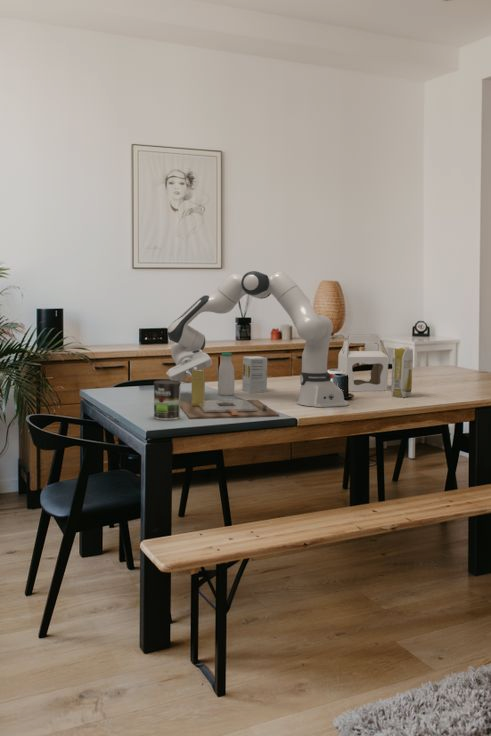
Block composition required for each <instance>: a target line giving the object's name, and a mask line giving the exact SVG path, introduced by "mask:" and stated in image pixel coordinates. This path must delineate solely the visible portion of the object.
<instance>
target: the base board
mask: <svg viewBox="0 0 491 736" xmlns="http://www.w3.org/2000/svg"><path fill="white" fill-rule="evenodd" d="M246 400H247V401H248V402H250V403H251V404H252V405H254V406H255V407H256V408H258V411H240V412H238V415H231V414H230V413H229V412H203V411H202V410H201V409H200V407H199V406H192V400H190V401H187V400H186V401H185V400H184V401H183V400H182V401H181V400H180V410H182V412H183V411H184V412H183V413H184V414H185V416H186V417H187V418H188V420H197V419H198V420H200V419H202V420H204V419H207V420H208V419H235V418H236V419H237V418H239V419H240V418H242V419H243V418H270V417H271V418H272V417H280V413H278V412H276V411H275V410H273V409H272V408H271V407H269V406H267V405H268V404H265V403H263V402H261V400H258V399H246ZM222 406H233V405H230V403H228V402H224V403H222Z"/></svg>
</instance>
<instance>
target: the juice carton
mask: <svg viewBox="0 0 491 736" xmlns="http://www.w3.org/2000/svg"><path fill="white" fill-rule="evenodd" d="M392 351H393V352H392V359H391V361H392V363H391V364H392V365H391V366H392V367H391V385H390V386H391V387H390V390H391V391H390V392H391V393H390V394H391V397H393V396H395V397H394V398H401V397H404V398H408V397H410V396H412V395H411V394H412V388H413V387H412V384H413V363H414V352H413V351H414V350H413V348H410V347H409V346H407V345H406V346H403V347H399V348H393V350H392ZM407 396H408V397H407Z"/></svg>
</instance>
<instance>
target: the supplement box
mask: <svg viewBox="0 0 491 736" xmlns="http://www.w3.org/2000/svg"><path fill="white" fill-rule="evenodd" d="M267 385H268V357H265V356H260V355H259V356H257V355H256V356H253V355H252V356H250V355H249V356H243V357H242V391H244V392H247V393H249V394H254V393H267V392H268V391H267V390H268V389H267V388H268V386H267Z"/></svg>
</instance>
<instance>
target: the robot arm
mask: <svg viewBox="0 0 491 736" xmlns="http://www.w3.org/2000/svg"><path fill="white" fill-rule="evenodd" d="M245 295H249V296H251V297H253V298H255V299H259V300H261V299H267V298H268V297H270V296H271V295H272V296H273V297H274V299H276V301H277V302H278V304H280V306H281V307H282V308H283V309H284V311H285V312H286V313H287V315H288V316H289V317H290V319H291V321H292V323H293V325H294V327H295V329H296V333H297V335H298V336H299V338H301V339H302V340H304V341H305V344H304V348H303V352H302V354H301V371H300V376H299V379H300V380H299V382H300V383H299V384H300V391H299V394H298V399H297V404H298V405H300V406H306V407H315V408H330V407H331V408H333V407H346V406H349V405H350V402H349V401H347V400H345V397H344V392H343V390H342V389H340V388H339V387H338V385H337V384H335V383H334V382H333V381H332V379H333V380H334V378H335V377H336V376H335V374H334V373H329V372H328V355H329V348H330V344H331V337H332V333H333V330H334V324H333V321H332V320H331V319H330V318H329V317H328V316H326V315H324V314H317V313H316V312H315V310H314V308H313V306H312V304H311V301H310V299H309V298H308V296H307V295H306V294H305V293H304V291H303V290H302V289H301V288H300V286H298V284H297V283H296V282H295V281H294V280H293V279H292V278H291V277H290V276H289V275H288V274H287V273H285V272H283V271H276V272H274V273H273V274H272V275H270V276H268V275H267V274H265V273H262V272H260V271H257V270H256V271H255V270H252V271H248V272H246V273H245V274H244V275H241V274H239V273H232V274H230V275H229V276H228V277H226V279H224V280H223V281H222V282H221V284H220V285H219V286H218V287H217V289H216V290H215V291H213V292H212V293H210V294H208V295H202V296H201V297H199V299H198V300H196V301H195V302H194V303H193V304H192V305H191V306H190V307H189V308H188V309H187V310H186V311H184V312H183V313H182V314H181V315H180V316H179V317H178V318H177V319H175V320H173V321H172V323H170V325H169V326H168V327H167V331H166V333H167V337H168V339H169V340H170V341H172V342H174V343H173V344H172V345H171V348H170V354H171V359H172V360H173V362H174V363H175V365H174V366H172V367H170V368H169V369H168V370H167V371H166V372H165V374H166V376H168V378H169V380H174V381H180V380H182V379H185V378H186V377H191V379H192V370H205V369H207V368H209V367H211V366H212V365H213V361H212V358H211V357H210V355H209V354H208V353H206V352H204V351H203V350H204V349H205V347H206V336H205V334H203V333H202V332H200V331H199V330H197V329H195V328H193V327H191V326H190V325H189V324H190V323H192V321H193V320H194V319H196V318H197V317H198V316H199V315H200V314H202V313H205V312H207V313H215V314H221V315H222V314H228V313H230V312H231V311H232V310H233V309H234V308H235V306H236V305H237V304H238V303H239V302H240V300H241V299H242V298H243V297H244V296H245Z"/></svg>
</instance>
